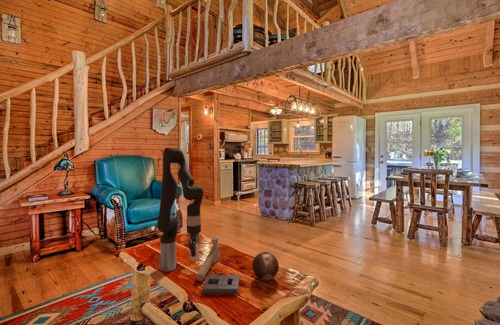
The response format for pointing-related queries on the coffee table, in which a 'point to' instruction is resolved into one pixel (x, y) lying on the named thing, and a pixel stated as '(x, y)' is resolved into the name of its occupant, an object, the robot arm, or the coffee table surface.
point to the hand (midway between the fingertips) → (194, 254)
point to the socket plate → (221, 284)
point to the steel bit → (195, 253)
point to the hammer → (209, 259)
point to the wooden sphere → (265, 266)
